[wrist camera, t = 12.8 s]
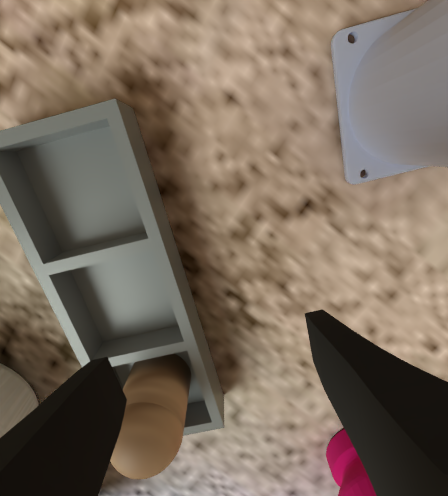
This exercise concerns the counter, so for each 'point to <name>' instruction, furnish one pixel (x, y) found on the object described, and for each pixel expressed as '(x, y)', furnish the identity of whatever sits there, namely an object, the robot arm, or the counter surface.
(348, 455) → the pepper mill
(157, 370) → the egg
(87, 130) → the tray
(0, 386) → the ramekin
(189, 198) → the counter surface
